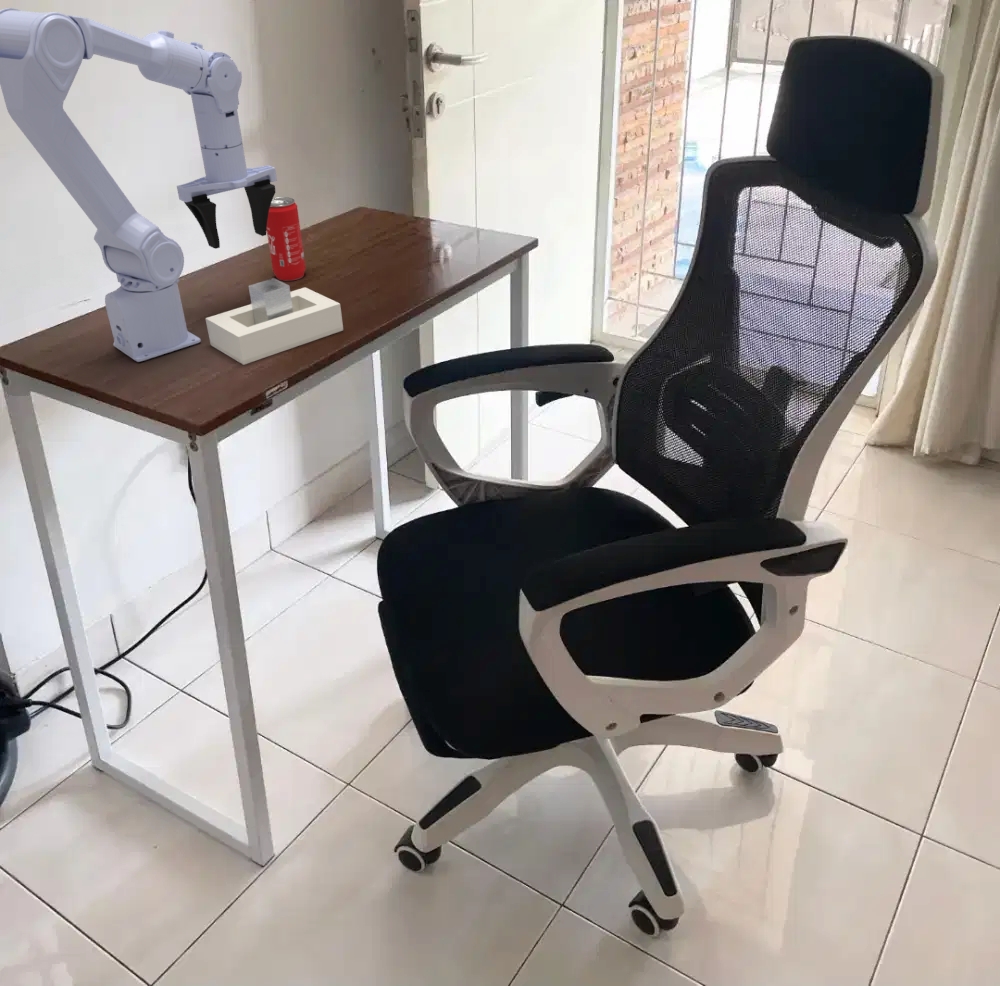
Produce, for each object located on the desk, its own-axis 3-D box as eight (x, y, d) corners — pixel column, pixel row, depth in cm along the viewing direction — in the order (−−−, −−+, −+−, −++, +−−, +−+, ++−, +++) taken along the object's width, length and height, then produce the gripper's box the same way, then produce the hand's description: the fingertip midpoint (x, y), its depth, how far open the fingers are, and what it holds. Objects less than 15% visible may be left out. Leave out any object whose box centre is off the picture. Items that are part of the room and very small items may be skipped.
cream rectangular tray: (243, 364, 133) (238, 337, 131) (210, 345, 139) (205, 318, 137) (343, 330, 142) (340, 303, 140) (308, 313, 148) (305, 287, 146)
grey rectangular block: (271, 341, 138) (263, 293, 134) (256, 333, 141) (248, 285, 137) (296, 333, 140) (289, 285, 137) (281, 325, 143) (273, 278, 139)
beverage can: (299, 282, 159) (288, 207, 152) (269, 280, 160) (256, 205, 153) (311, 271, 163) (301, 197, 157) (281, 269, 164) (270, 196, 158)
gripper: (187, 159, 132) (206, 259, 140) (282, 139, 140) (295, 234, 148) (162, 150, 137) (182, 247, 144) (256, 131, 145) (270, 224, 152)
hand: (238, 240), depth 146 cm, fingers open, 7 cm apart
